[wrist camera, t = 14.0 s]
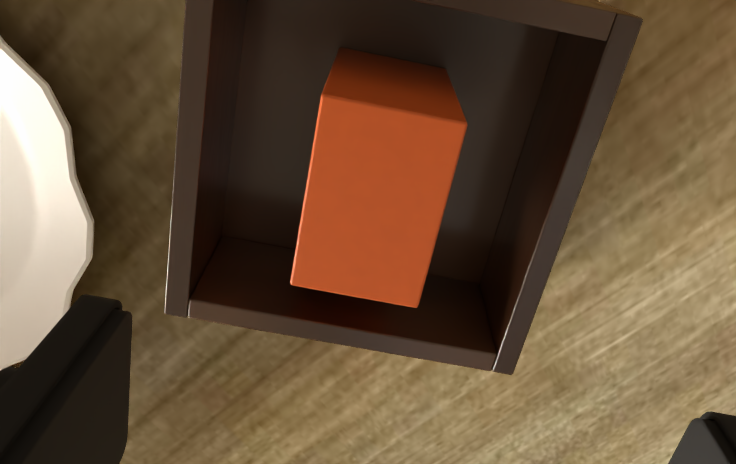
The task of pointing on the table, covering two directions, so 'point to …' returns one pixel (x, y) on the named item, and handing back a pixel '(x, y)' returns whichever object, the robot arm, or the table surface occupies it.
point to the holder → (470, 182)
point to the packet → (378, 178)
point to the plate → (36, 210)
